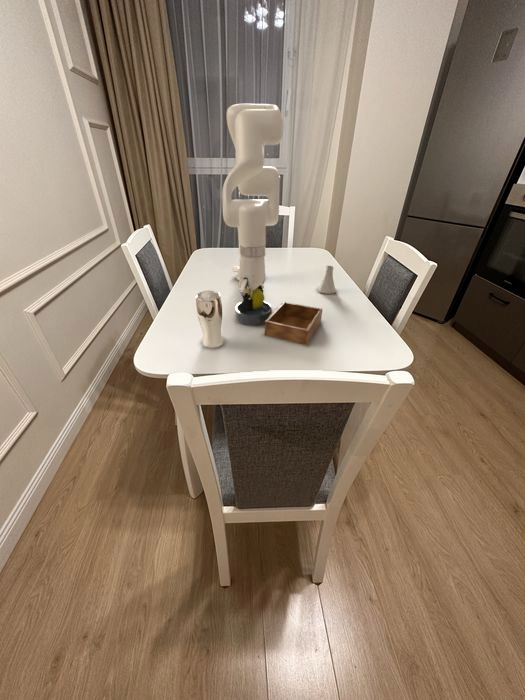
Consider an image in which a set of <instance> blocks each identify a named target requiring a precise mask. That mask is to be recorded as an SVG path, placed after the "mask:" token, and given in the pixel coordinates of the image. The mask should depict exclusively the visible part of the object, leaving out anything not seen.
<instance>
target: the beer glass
mask: <svg viewBox="0 0 525 700" xmlns="http://www.w3.org/2000/svg"><path fill="white" fill-rule="evenodd" d="M222 303H223V302H222V298H221V293H220V292H219V291H215V290H203V291H200V292H198V293H196V294H195V307H196V308H195V309H196V314H197V315H196V316H197V318H198V322H199V325H200V328H201V331H202V345H203V346H204V347H205V348H208V349H216V348H219V347H221V346H222V345H224V338H223V335H222V324H223V304H222Z"/></svg>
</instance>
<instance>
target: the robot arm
mask: <svg viewBox="0 0 525 700" xmlns="http://www.w3.org/2000/svg"><path fill="white" fill-rule="evenodd" d="M283 121H284V120H283V115H282V112H281V110H280V108H279V106H278V105H276V104H271V103H270V104H269V103H237V104H232V105H230V106H229V107H228V108H227V110H226V123H227V128H228V132H229V135H230V137H231V141H232V143H233V146H234V150H235V165H234V167H233V168H232V169H230V171H229V172H228V174H227V176H226V178H225V180H224V183H223V186H222V191H221V192H222V193H221V197H222V199H221V200H222V219H223V222H224V223H225V225H227V226H228V227H229V228H237V235H238V236H237V239H238V260H239V262H238V264H239V266H236V265H233V266H232V272H233V273H236V280H237V281H238V288H239V294H240V295H241V298H242V302H243V308H244V309H245V310H250V311H252V310H253V299H251V298H252V294H253V290H255V289H256V288H258V289H260V290H261V291H262V292H263V293H264V289H265V284H264V283H265V279H266V260H265V259H266V247H267V246H266V244H267V243H266V240H267V239H266V237H267V234H266V233H267V232H266V231H267V227H271V226H276V225H277V224H278V221H279V217H280V216H279V215H280V184H281V183H280V182H281V181H280V173H279V171H278V169H277V168H276V167H273V166H265V154H264V152H265V151H264V149H265V148H264V146H277V145H279V144H281V142H282V139H283V135H284V122H283ZM236 188H237V189H238V192H239V193H240V195H243V196H248V197H249V196H250V197H259V196H260V197H266V198H267V199H232V196H233V192H234V190H235V189H236ZM249 288H250V289H249ZM246 291H250V293H249V294H248V293H246Z"/></svg>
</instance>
